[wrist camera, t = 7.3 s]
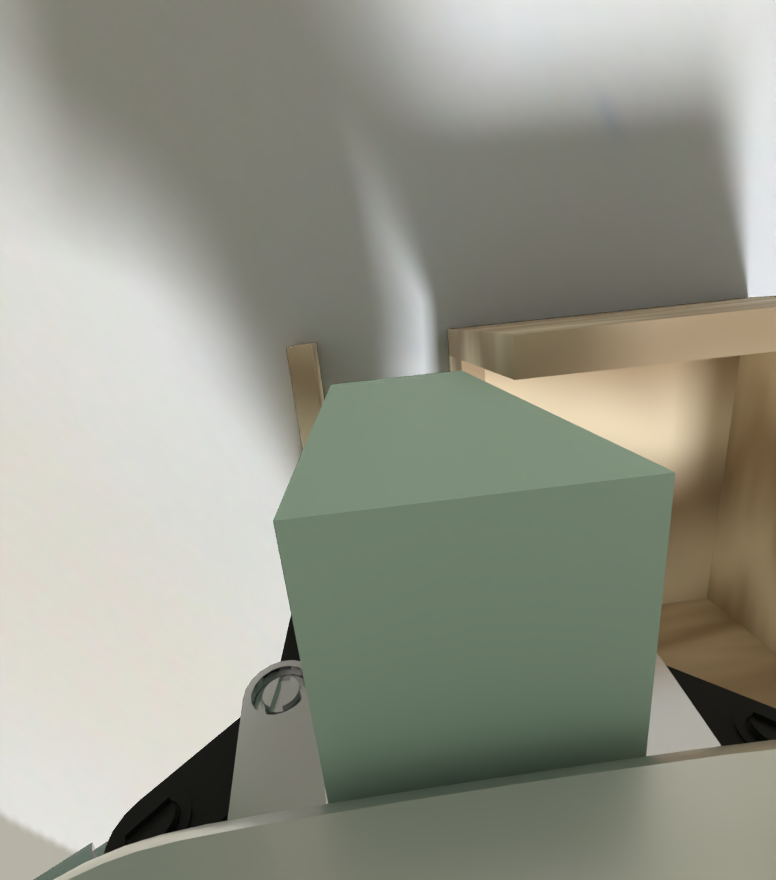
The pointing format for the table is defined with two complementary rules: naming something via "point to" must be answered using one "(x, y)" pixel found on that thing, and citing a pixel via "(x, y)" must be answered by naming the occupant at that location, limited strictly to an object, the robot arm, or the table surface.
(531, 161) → the table surface
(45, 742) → the table surface
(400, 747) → the green block
